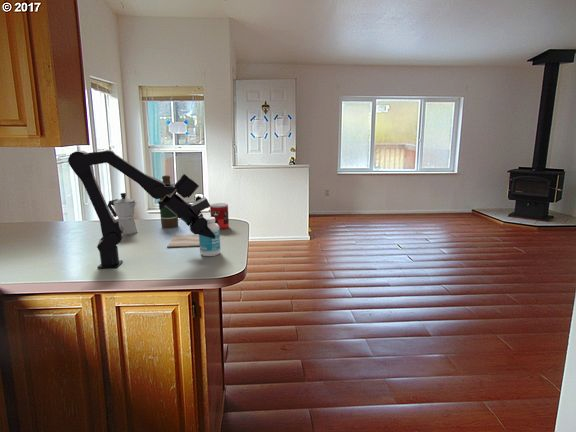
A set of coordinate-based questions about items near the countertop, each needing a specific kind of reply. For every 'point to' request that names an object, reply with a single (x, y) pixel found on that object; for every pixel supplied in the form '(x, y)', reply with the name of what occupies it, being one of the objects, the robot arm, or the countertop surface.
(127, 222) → the coffee maker
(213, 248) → the pill bottle
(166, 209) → the beer bottle
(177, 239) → the walnut board
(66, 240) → the countertop surface
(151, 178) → the robot arm
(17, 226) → the countertop surface
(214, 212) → the canned food
